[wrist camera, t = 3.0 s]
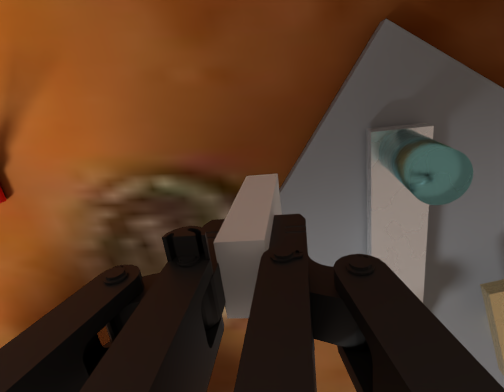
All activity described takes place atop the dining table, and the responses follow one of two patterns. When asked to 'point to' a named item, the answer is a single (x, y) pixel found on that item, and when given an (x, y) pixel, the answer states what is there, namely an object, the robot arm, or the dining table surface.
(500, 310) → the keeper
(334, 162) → the base plate
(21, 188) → the dining table surface
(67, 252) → the dining table surface
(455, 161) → the lever
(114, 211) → the dining table surface
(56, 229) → the dining table surface
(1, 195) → the tow hook
